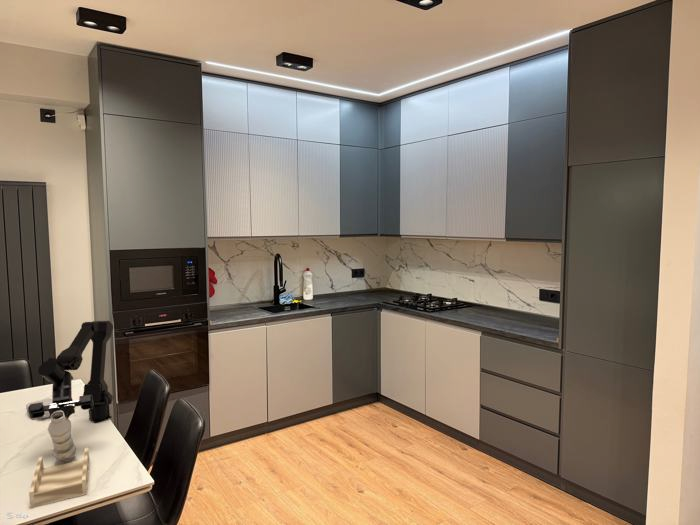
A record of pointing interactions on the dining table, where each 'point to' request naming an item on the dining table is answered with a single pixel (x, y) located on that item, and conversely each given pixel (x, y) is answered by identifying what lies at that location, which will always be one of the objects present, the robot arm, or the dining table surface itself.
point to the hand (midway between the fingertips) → (61, 430)
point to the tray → (59, 481)
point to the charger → (45, 402)
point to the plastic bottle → (61, 437)
